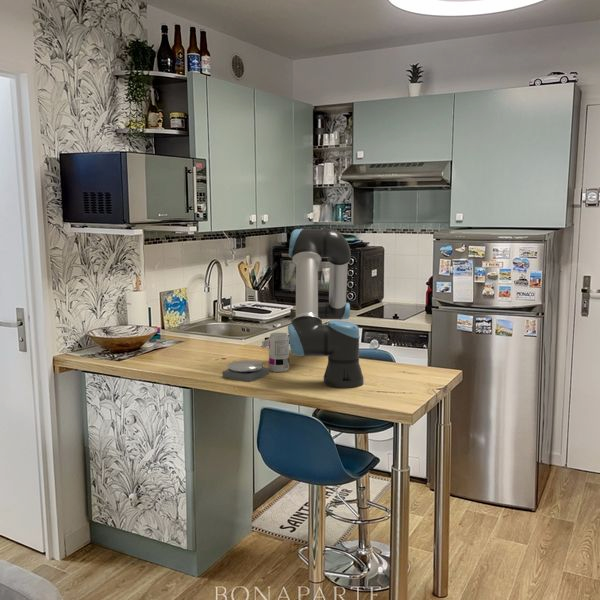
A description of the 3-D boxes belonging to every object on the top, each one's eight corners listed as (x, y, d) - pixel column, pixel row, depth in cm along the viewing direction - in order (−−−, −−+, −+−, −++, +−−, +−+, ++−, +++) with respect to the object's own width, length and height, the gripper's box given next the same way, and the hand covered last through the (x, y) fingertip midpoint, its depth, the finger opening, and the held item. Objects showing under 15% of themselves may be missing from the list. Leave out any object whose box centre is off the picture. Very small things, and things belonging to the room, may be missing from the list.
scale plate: (270, 372, 255) (270, 362, 254) (250, 380, 243) (250, 370, 242) (241, 368, 262) (241, 359, 261) (220, 375, 250) (220, 366, 249)
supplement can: (265, 371, 259) (265, 335, 257) (274, 367, 266) (273, 331, 264) (284, 373, 256) (284, 336, 254) (292, 368, 263) (292, 333, 261)
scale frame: (268, 374, 254) (268, 367, 254) (250, 381, 243) (250, 375, 243) (242, 370, 261) (241, 364, 261) (222, 377, 250) (222, 371, 249)
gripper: (326, 347, 274) (305, 357, 255) (274, 342, 284) (251, 352, 265) (326, 330, 273) (305, 339, 254) (274, 326, 283) (250, 334, 264)
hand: (277, 346), depth 259 cm, fingers open, 13 cm apart
